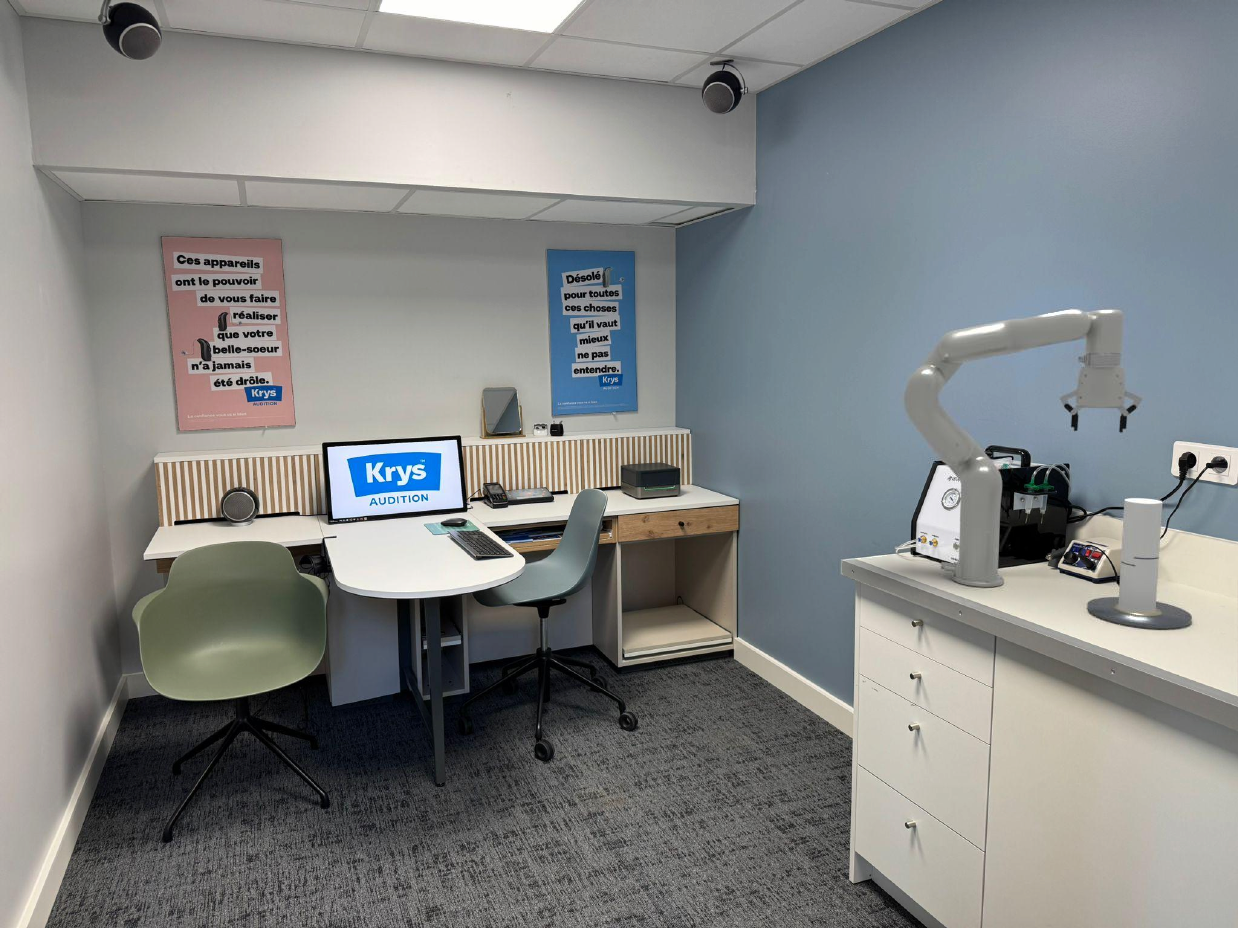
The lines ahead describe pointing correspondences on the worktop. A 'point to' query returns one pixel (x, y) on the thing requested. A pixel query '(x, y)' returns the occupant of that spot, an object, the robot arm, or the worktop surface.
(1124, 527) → the cylindrical container
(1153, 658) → the worktop surface
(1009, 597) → the worktop surface
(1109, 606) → the plate
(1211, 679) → the worktop surface
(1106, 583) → the worktop surface
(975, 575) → the robot arm
